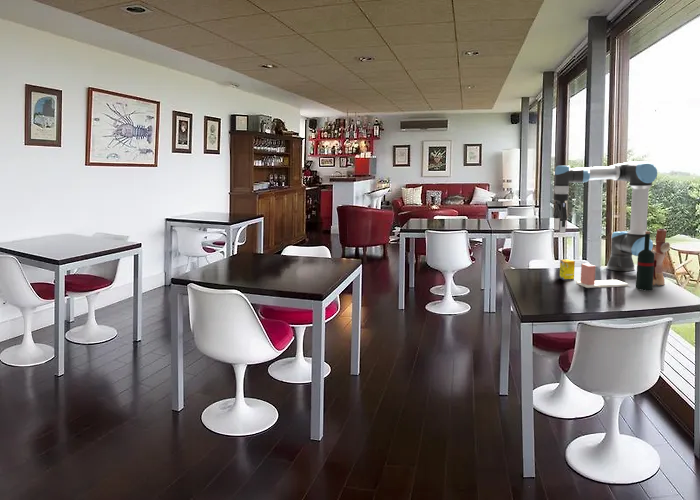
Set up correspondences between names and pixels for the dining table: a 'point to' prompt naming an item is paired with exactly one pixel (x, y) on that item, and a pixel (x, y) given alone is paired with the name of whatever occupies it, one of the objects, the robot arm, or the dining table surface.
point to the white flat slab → (610, 283)
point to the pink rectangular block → (587, 276)
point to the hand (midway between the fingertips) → (559, 231)
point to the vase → (660, 256)
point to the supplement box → (567, 269)
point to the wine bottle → (645, 267)
